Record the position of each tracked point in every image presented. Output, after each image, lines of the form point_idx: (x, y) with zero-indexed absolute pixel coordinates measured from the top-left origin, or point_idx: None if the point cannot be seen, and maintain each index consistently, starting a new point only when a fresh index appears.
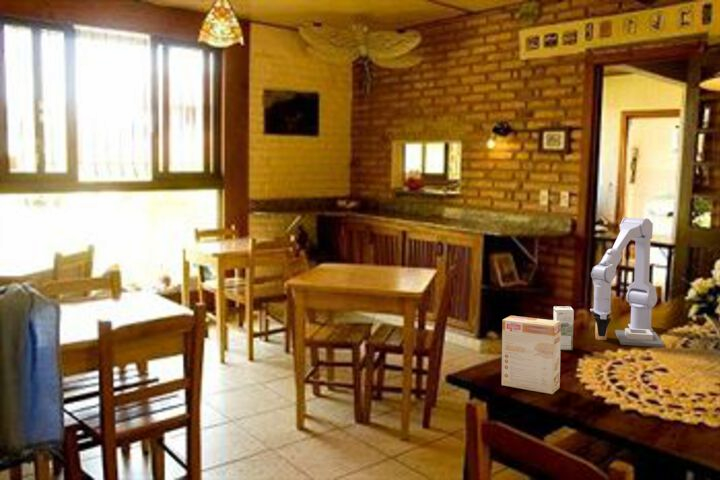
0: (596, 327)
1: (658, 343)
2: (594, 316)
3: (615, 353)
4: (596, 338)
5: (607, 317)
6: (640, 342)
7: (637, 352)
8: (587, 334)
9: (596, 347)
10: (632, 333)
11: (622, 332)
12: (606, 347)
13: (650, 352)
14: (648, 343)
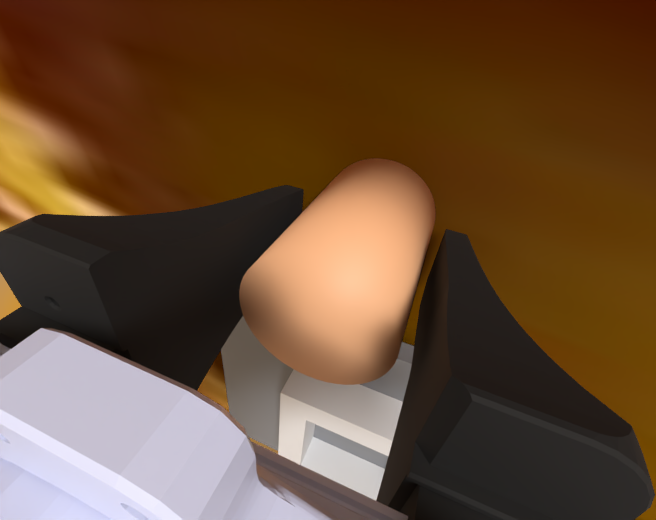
0: (311, 218)
1: (241, 422)
2: (86, 270)
3: (28, 166)
4: (353, 164)
5: (384, 479)
6: (235, 373)
7: None
8: (614, 119)
9: (84, 72)
10: (287, 414)
11: None
12: (122, 157)
13: None
14: (227, 391)
